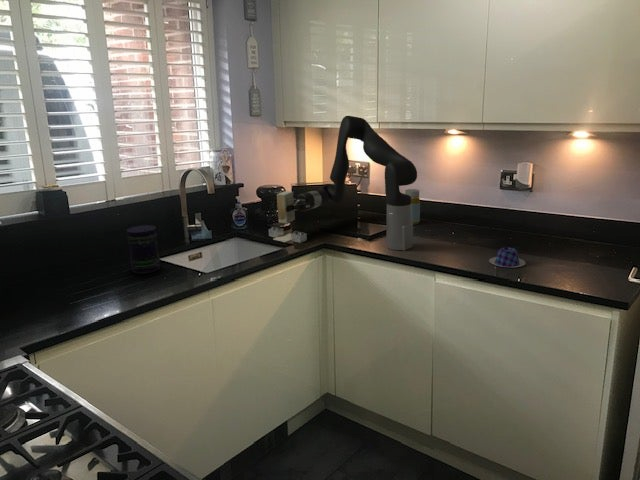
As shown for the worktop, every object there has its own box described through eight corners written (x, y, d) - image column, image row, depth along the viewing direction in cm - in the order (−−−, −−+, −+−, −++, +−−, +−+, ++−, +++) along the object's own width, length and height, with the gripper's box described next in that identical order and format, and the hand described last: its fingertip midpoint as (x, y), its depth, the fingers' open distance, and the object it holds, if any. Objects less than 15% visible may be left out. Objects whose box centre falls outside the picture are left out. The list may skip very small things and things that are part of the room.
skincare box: (286, 219, 231) (285, 190, 228) (295, 220, 229) (293, 191, 225) (277, 222, 226) (276, 193, 222) (286, 223, 224) (284, 194, 220)
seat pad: (301, 236, 231) (301, 235, 230) (285, 242, 223) (285, 241, 223) (289, 234, 235) (289, 233, 235) (273, 239, 228) (273, 238, 227)
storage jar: (126, 269, 196) (121, 229, 192) (152, 262, 203) (147, 223, 199) (140, 275, 189) (134, 233, 185) (165, 268, 196) (160, 228, 192)
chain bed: (306, 240, 225) (306, 232, 224) (300, 242, 222) (300, 234, 221) (275, 234, 236) (274, 225, 235) (268, 236, 233) (268, 227, 232)
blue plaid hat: (533, 265, 187) (534, 250, 186) (506, 271, 182) (507, 256, 181) (507, 256, 198) (508, 242, 196) (481, 262, 193) (482, 247, 191)
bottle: (402, 224, 245) (403, 191, 240) (405, 221, 251) (405, 188, 247) (418, 225, 243) (419, 192, 238) (420, 221, 249) (421, 189, 245)
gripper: (296, 190, 239) (268, 197, 227) (321, 193, 230) (293, 201, 218) (297, 207, 241) (269, 215, 229) (321, 211, 233) (294, 219, 220)
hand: (281, 208), depth 224 cm, fingers closed on skincare box, 5 cm apart
